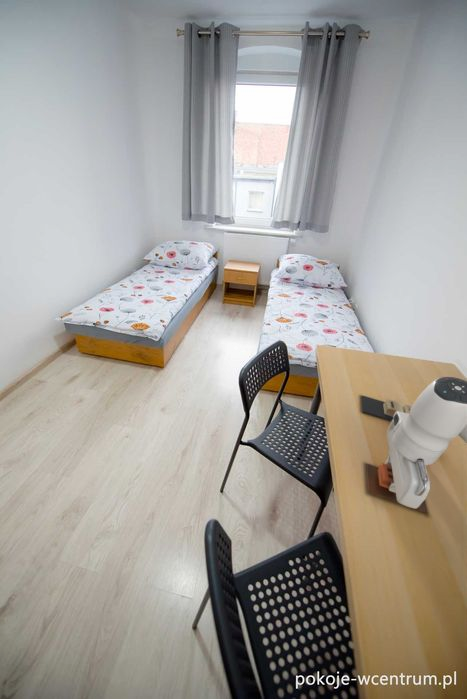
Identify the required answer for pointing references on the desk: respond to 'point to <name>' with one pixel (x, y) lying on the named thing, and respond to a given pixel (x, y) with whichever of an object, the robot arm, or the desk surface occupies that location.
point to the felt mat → (374, 408)
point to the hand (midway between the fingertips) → (390, 477)
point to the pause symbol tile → (385, 475)
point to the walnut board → (384, 488)
